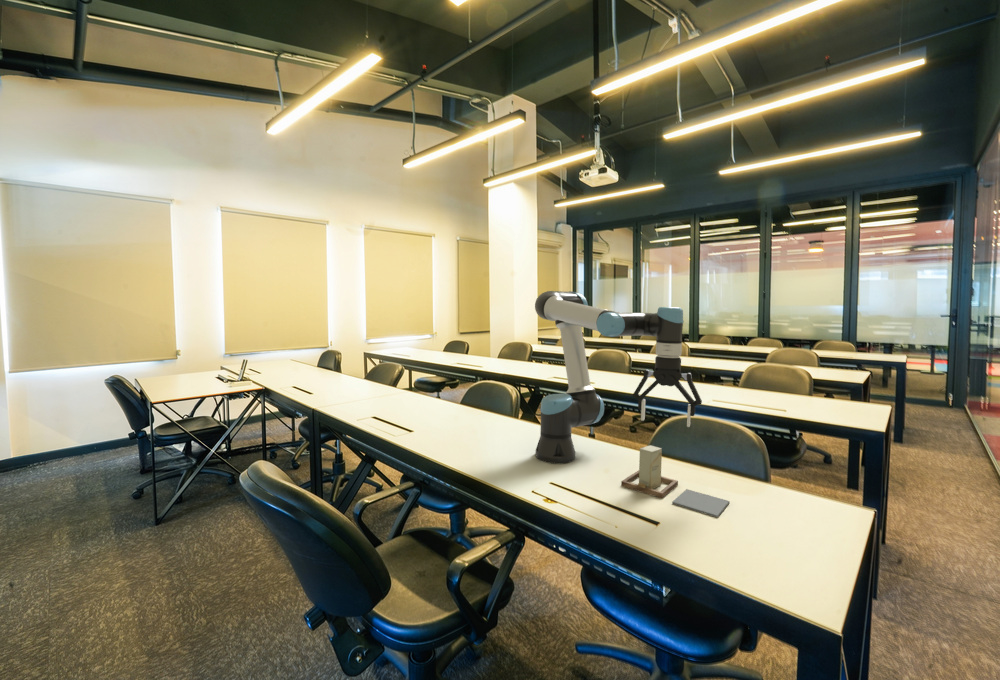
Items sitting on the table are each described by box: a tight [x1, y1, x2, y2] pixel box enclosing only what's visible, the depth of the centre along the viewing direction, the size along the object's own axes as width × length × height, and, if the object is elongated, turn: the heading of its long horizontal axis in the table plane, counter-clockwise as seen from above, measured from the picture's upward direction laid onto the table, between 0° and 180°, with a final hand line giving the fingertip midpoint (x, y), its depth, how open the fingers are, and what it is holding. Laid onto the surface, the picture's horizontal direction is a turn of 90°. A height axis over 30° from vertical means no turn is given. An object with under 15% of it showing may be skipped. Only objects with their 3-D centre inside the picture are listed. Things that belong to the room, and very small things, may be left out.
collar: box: [620, 469, 679, 499], centre depth 133 cm, size 13×13×2 cm
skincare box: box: [638, 444, 663, 490], centre depth 133 cm, size 6×4×12 cm
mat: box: [671, 488, 730, 518], centre depth 121 cm, size 12×12×1 cm
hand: (665, 422), depth 133 cm, fingers open, 13 cm apart
